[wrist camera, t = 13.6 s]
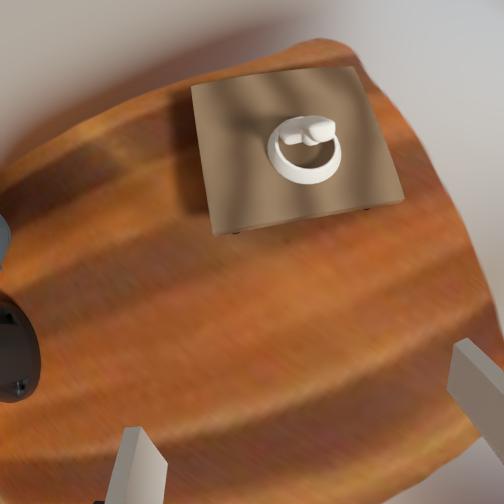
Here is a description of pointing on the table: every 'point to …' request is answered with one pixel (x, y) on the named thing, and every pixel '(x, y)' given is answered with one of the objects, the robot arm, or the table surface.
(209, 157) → the small wooden table
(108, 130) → the table surface
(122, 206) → the table surface
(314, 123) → the white ring with handle
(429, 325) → the table surface
